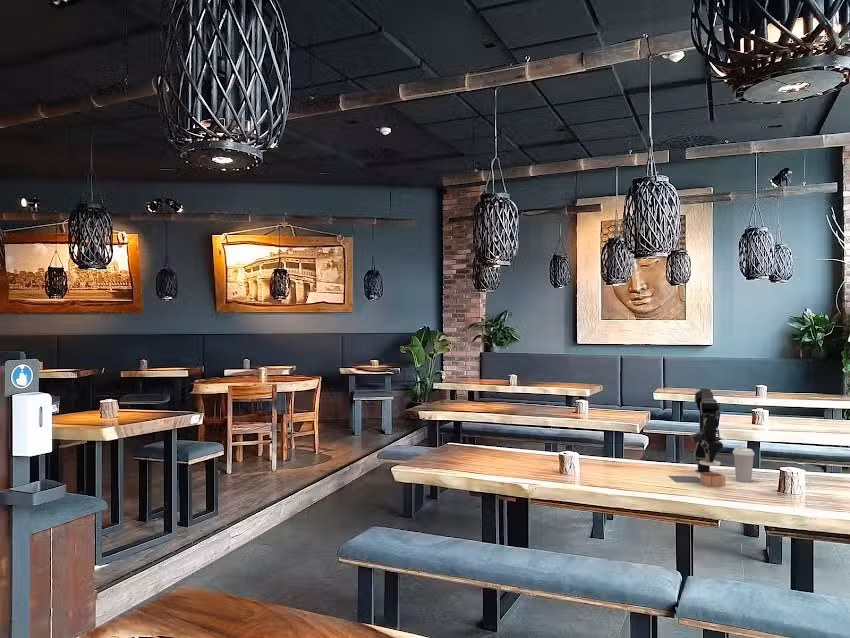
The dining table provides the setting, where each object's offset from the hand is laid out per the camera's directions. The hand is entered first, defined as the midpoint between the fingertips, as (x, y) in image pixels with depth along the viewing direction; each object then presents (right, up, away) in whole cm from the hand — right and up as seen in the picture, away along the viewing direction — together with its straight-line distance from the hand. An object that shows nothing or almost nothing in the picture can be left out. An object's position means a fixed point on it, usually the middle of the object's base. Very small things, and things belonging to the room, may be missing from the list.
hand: (709, 460), depth 301 cm
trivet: (-7, -11, +9) cm, 16 cm away
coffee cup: (+20, -12, +8) cm, 25 cm away
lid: (0, -1, 0) cm, 1 cm away
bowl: (+1, -11, -1) cm, 11 cm away
